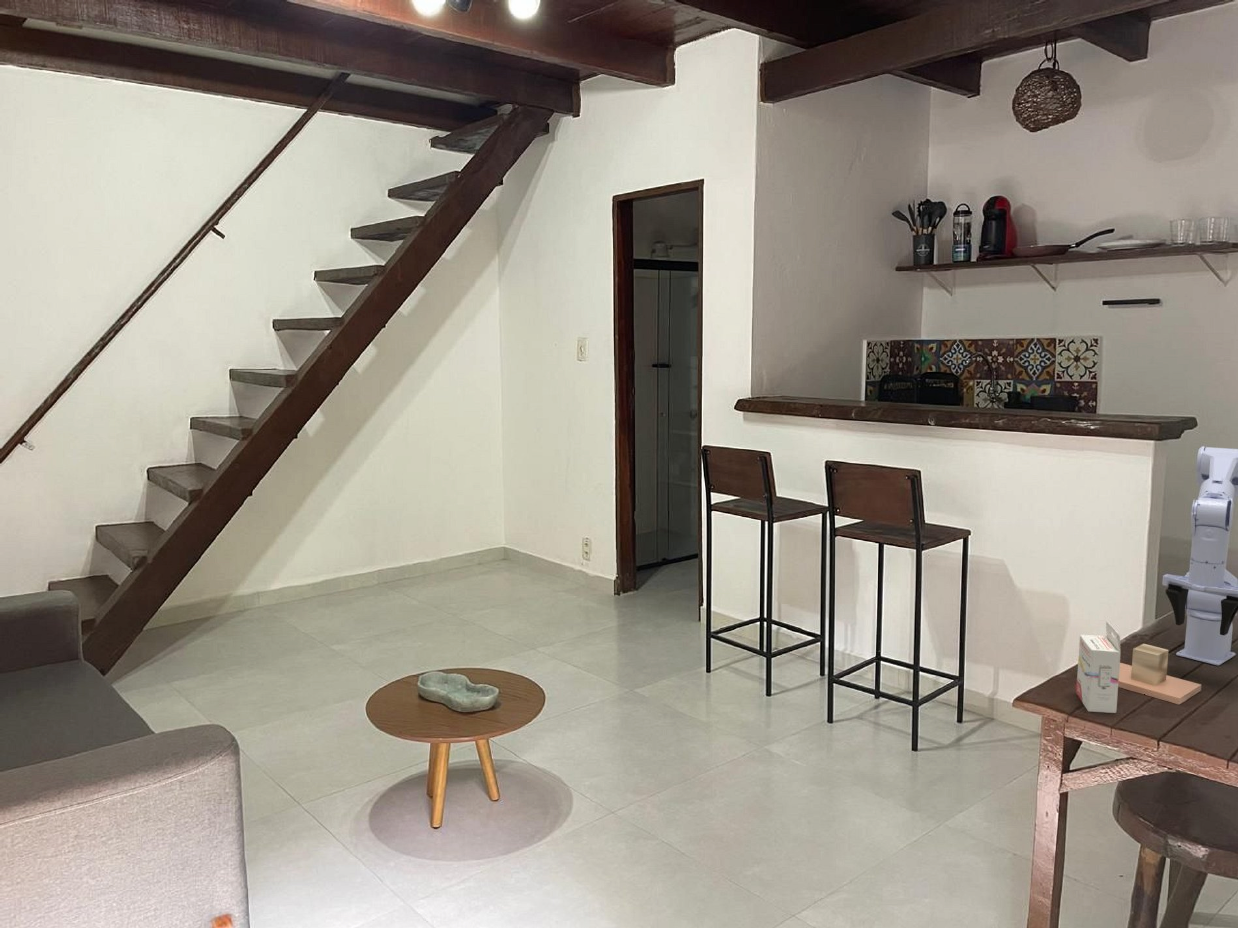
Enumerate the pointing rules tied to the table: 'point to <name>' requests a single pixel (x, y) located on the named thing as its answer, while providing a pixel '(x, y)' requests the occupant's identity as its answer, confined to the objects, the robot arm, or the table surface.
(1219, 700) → the table surface
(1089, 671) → the ink cartridge box
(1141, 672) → the maple block
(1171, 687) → the terracotta tile
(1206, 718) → the table surface
